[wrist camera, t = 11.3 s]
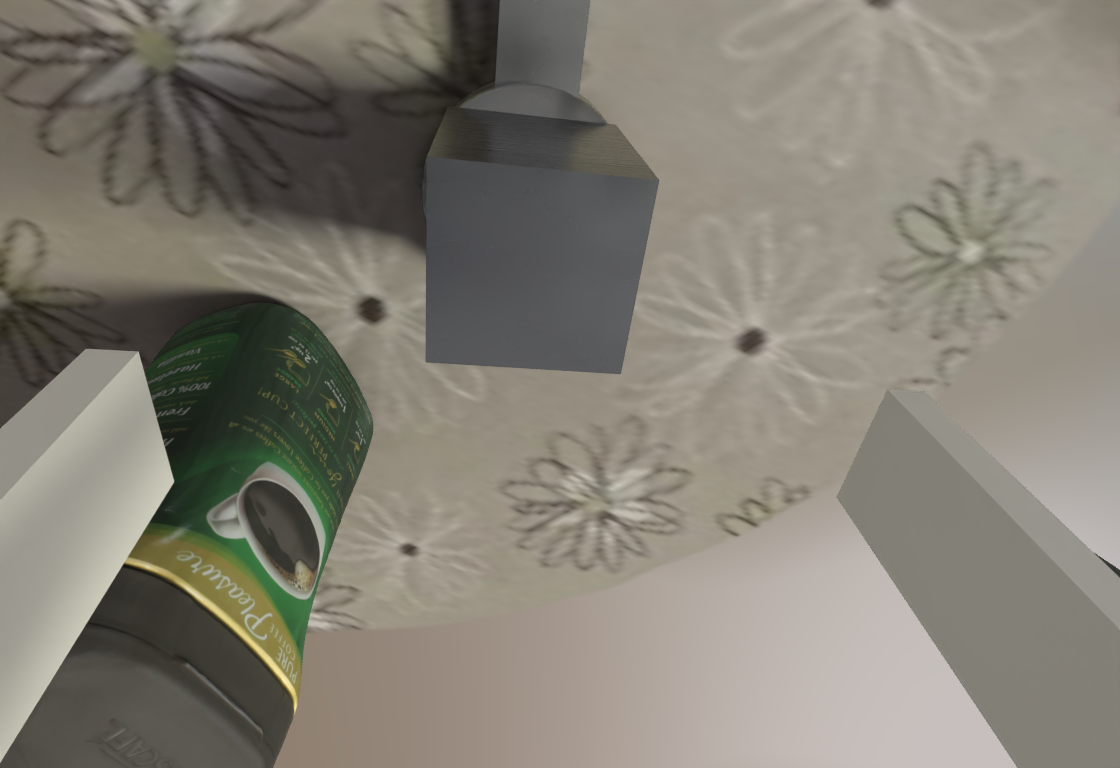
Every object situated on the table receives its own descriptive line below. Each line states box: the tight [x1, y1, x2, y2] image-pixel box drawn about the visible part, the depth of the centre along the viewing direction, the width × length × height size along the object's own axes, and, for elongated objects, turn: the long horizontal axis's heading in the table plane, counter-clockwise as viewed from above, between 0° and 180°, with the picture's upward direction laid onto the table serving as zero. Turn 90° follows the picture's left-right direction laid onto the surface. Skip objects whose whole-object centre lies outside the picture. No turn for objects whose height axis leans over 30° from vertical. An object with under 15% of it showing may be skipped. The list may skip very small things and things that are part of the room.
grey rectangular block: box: [426, 106, 659, 374], centre depth 21 cm, size 6×6×8 cm
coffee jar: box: [0, 303, 373, 768], centre depth 23 cm, size 10×8×19 cm
